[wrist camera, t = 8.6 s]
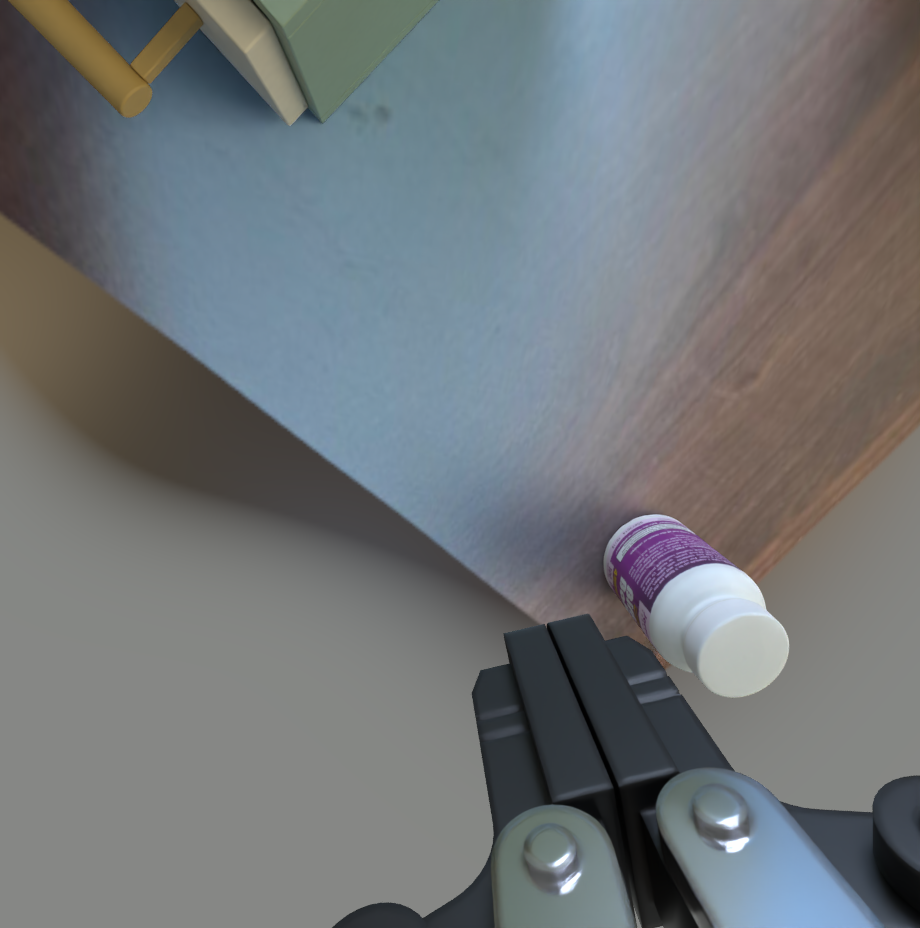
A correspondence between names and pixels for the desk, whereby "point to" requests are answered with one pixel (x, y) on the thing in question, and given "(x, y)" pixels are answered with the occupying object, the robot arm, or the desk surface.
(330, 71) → the cabinet
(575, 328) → the desk surface
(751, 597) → the pill bottle
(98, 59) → the drawer
